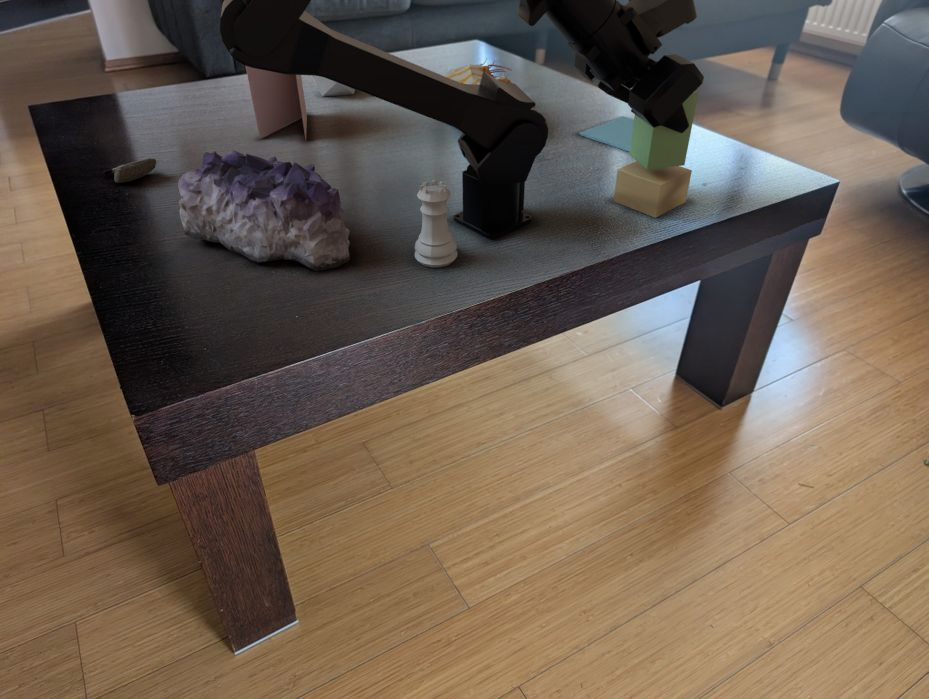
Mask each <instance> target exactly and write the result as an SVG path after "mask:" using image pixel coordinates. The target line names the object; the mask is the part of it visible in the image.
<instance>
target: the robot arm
mask: <svg viewBox="0 0 929 699" xmlns="http://www.w3.org/2000/svg"><path fill="white" fill-rule="evenodd" d="M311 1H312V0H223V2H222V4H221V12H220V22H219V33H220V36H221V37H220V38H221V40H222V41H221V42H222V43H223V45H224V46H225V48H226V50H227V51H228V53H229V55H230V56H231V57H232V58H233V59H234V60H235V61H236V62H238V63H240V64H242V65H243V66H244V67H246V66H248V67H251V68H256V69H261V70H266V71H271V72H277V73H282V74H288V75H301V76H311V75H313V76H321V77H324V78H327V79H330V80H332V81H335V82H337V83H340V84H343V85H345V86H348V87H351V88H353V89H355V91H359V92H361V93H364V94H367V95H369V96H371V97H374V98H377V99H380V100H382V101H385V102H387V103H390V104H392V105H393V104H394V105H395V106H398V107H401V108H403V109H406V110H409V111H412V112H414V113H416V114H419V115H422V116H423V117H424V116H425V117H427V118H430V119H432V120H435V121H436V122H440V123H443V124H446V125H448V126H450V127H453V128H455V129H457V130H458V131H460V132H461V133H462V134H461V136H459V138H458V139H457V144H458V146H459V150H460V152H461V155H462V156H463V158H464V159H465V160H466V161H467V163H468V165H467V167H466V170H463V171H462V172H461V174H462V175H461V176H462V178H461V182H462V211H460V212H458V213H456V214H454V215H453V216H452V218H453V221H454V222H456V223H458V224H460V225H462V226H464V227H466V228H468V229H470V230H472V231H474V232H476V233H478V234H479V235H481V236H483V237H486V238H488V239H492V240H493V239H496V238H499V237H501V236H503V235H505V234H507V233H509V232H511V231H513V230H516V229H518V228H520V227H522V226H525V225H527V224H529V223H531V222H532V220H533V218H532V217H533V216H532V215H529V214H528V213H525V212H523V211H524V207H525V191H526V190H525V189H526V187H525V186H526V182H527V180H528V177H529V175H530V172H531V170H532V167H533V165H534V163H535V160H536V157H538V156H539V155H540V154H541V153H542V151H543V150H544V148H545V147H546V145H547V141H548V138H549V127H548V123H547V120H546V118H545V116H543V114H542V113H541V112H539V110H537V109H536V107H535V106H536V102H535V101H534V99H533V98H531V97H529V95H528V94H527V93H526V92H525V91H523V90H522V89H521V88H520V87H519V86H518V85H517V84H516V83H513V84H507V83H503V82H500V81H498V80H497V79H495V78H494V77H492V76H491V75H489V74H488V73H486V72H483V74H482V78H481V82H480V85H477V84H463V83H459V82H457V81H454V80H452V79H450V78H447V77H445V76H444V75H442V74H440V73H438V72H435V71H433V70H430V69H428V68H425V67H423V66H421V65H418V64H415V63H414V62H411V61H408V60H406V59H403V58H402V57H399V56H397V55H394V54H391V53H389V52H386V51H384V50H382V49H380V48H377V47H375V46H372V45H370V44H368V43H365V42H362V41H360V40H357V39H356V38H353V37H350V36H348V35H346V34H343V33H341V32H338V31H336V30H334V29H331V27H328V26H327V25H325V24H324V23H322V22H321V21H320V20H319V19H317V18H316V17H314V16H313V15H312V14H310V12H307V11H306V9H307V8H308V6H309V5H310V4H311ZM544 15H545V17H546V18H547V19H548V20H549V21H550V22H551V23H552V25H553V26H554V27H555V29H557V30H558V32H559V33H560V34H561V35H562V36H563V37H564V38H565V40H566V41H567V43H566V45H567V46H568V47H569V49H570V50H571V51H572V52H573V53H574V68H575V69H576V70H577V71H578V72H579V73H580V75H581V76H582V77H583V78H584V79H586V80H587V81H588V82H590V83H591V84H593V83H594V82H596V80H598V81H599V82H598V84H597V87H598V89H599V90H601V91H602V92H603V93H605V94H606V95H608V96H610V97H612V98H614V99H616V100H619V101H621V102H623V103H626V104H627V105H628V107H629V108H630V112H631V113H632V114H634V116H635V115H637V116H638V117H639V118H641V119H642V120H644V121H645V122H646V123H648V124H649V125H650V126H652V127H653V128H655V127H658V126H660V125H661V126H664V127H666V128H669V129H671V130H674V131H676V132H679V133H683V132H684V131H685V130H686V129H687V128H688V127H689V123H688V120H687V117H686V114H685V110H684V107H683V104H682V103H683V102H684V101H685V100H686V99H687V98H688V97H689V96H690V95H691V94H692V93H693V92H694V91H697V90H698V88H700V87H701V86H702V84H703V83H704V80H705V76H704V75H703V73H702V72H701V70H700V69H699V68H698V67H697V65H696V64H695V62H692V61H691V60H688V59H687V58H685V57H683V56H681V55H679V54H677V53H676V54H664V55H663V56H662V57H661V58H660V59H659V60H654V59H653V58H651V57H649V56H650V55H654V54H655V53H656V52H657V51H658V50H659V49H660V48H661V47H662V46H663V43H662V41H661V40H660V39H659V38H661V37H664V36H666V35H668V34H669V33H671V32H673V31H674V30H677V29H679V27H681V26H683V25H685V24H686V25H689V24H691V23H692V22H694V21H695V20H697V17H698V14H697V10H696V5H695V0H628V2H627V3H625V4H624V5H623V3H621V2H620V1H619V0H519V5H518V11H517V18H518V19H519V20H521V21H523V23H525V24H527V25H528V26H530V27H533V26H535V25H536V24H537V23H539V21H540V20H541V19H542V17H544Z"/></svg>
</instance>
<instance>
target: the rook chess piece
mask: <svg viewBox="0 0 929 699" xmlns="http://www.w3.org/2000/svg"><path fill="white" fill-rule="evenodd" d="M437 182H438V181H437V179H431V184H429V181H427V180H425V181H423V182H422V183H421V184H420V186H419V191H418V192H417V193H416V197H417V198H418V199H419V201H420V202H421V206H420V208H419V211H420V213H421V215H422V222H421V230H420V233H419V234H418V239H417V240H415V244H414V258H415V260H416V261H417V262H418V263H419V264H420V265H422V266H424V267H428V268H433V269H434V268H438V269H439V268H443V267H447V266H450V265H451V264H452V263H453V262H454V261H455V260H456V258H458V251H457V246H458V245H457V241H456V240H455V238H454V237H453V234H452V233H451V231H450V228H449V222H448V217H447V215H448V214H447V213H448V212H449V207H448V205H447V201H448V200H449V199H450V198H451V192H450V190H448V188H447V183H445V181H443V180H440V181H439V182H438V184H437Z"/></svg>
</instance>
